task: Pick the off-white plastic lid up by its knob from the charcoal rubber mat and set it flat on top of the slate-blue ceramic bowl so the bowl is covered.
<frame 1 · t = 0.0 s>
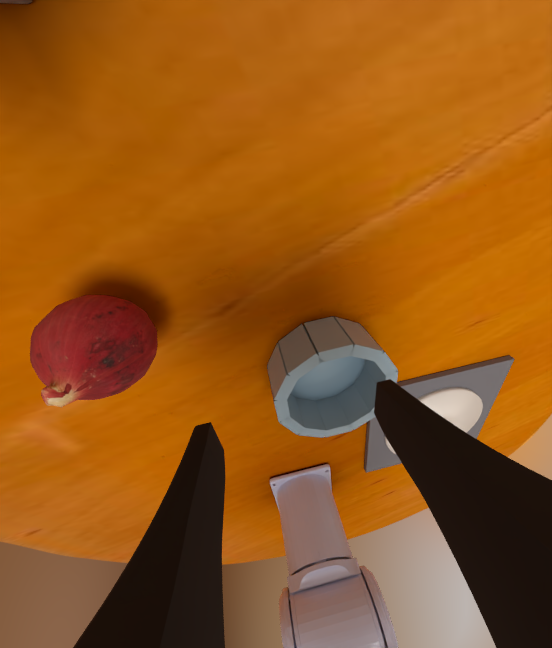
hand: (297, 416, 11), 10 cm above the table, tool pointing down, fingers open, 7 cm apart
lid: (430, 422, 30), point 1 cm above the table, touching mat
mat: (427, 418, 31), on the table
bowl: (321, 364, 23), on the table
onion: (125, 313, 18), on the table
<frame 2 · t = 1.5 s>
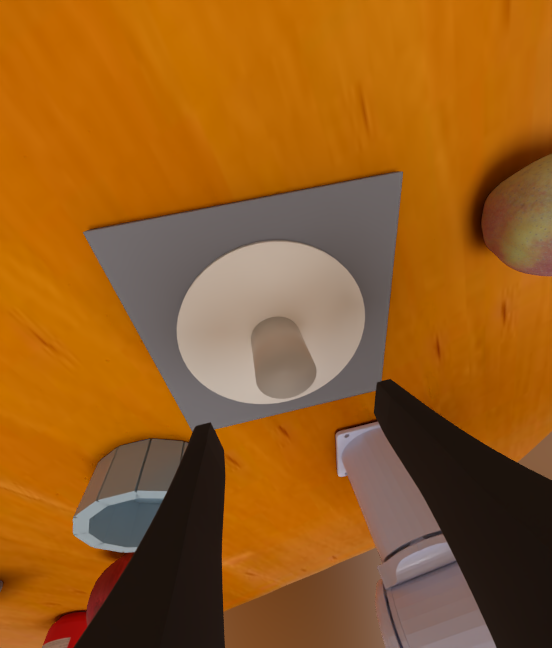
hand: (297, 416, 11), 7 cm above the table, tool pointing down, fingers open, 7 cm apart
apple: (495, 211, 15), on the table
lid: (274, 333, 16), point 1 cm above the table, touching mat
mat: (272, 328, 17), on the table
bowl: (159, 473, 23), on the table
onion: (131, 548, 30), on the table
beverage can: (78, 614, 38), on the table
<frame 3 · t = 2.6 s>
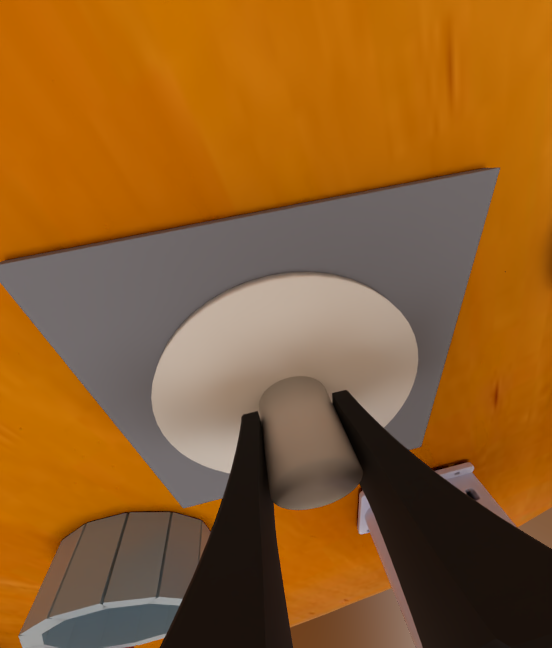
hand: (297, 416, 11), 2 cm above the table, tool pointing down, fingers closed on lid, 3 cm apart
lid: (290, 392, 12), point 1 cm above the table, touching gripper, mat
mat: (288, 383, 12), on the table
bowl: (141, 545, 19), on the table
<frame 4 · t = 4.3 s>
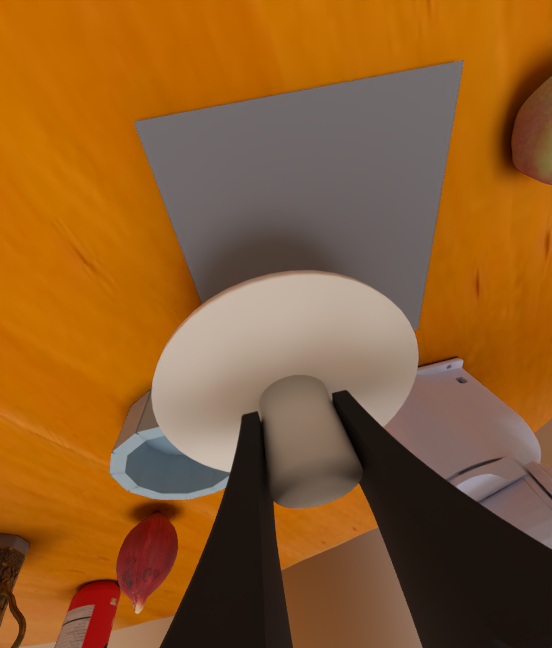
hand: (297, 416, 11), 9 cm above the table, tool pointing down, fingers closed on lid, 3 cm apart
ceramic cup: (9, 540, 28), on the table
apple: (524, 131, 15), on the table
lid: (290, 391, 12), point 8 cm above the table, touching gripper
mat: (314, 253, 16), on the table
bowl: (189, 422, 23), on the table
onion: (157, 510, 30), on the table
beverage can: (100, 585, 38), on the table
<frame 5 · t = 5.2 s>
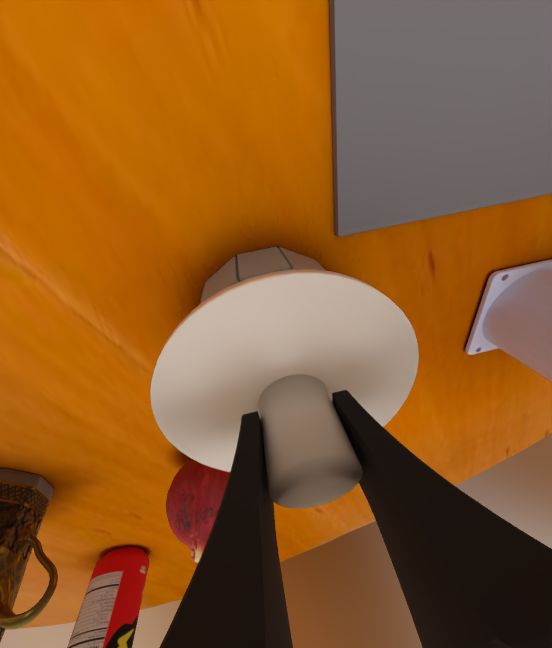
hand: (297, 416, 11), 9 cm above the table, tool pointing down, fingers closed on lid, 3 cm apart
ceramic cup: (29, 483, 23), on the table
lid: (290, 391, 12), point 7 cm above the table, touching gripper
mat: (493, 28, 12), on the table
bowl: (270, 318, 18), on the table
onion: (205, 453, 25), on the table
beverage can: (126, 552, 33), on the table
when the fingers open (7 cm above the table, at t = 5.8 s): lid drops 1 cm, resting on bowl.
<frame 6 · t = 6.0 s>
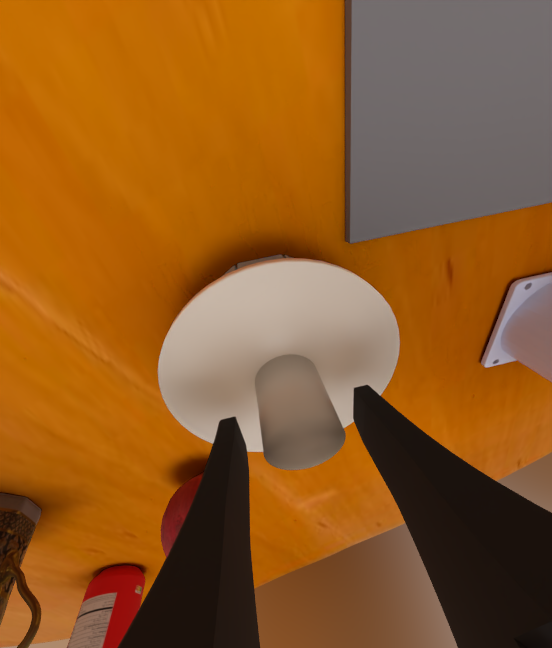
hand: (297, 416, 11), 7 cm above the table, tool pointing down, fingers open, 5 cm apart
ceramic cup: (15, 504, 22), on the table
lid: (284, 371, 13), point 4 cm above the table, touching bowl
mat: (530, 7, 10), on the table
onion: (204, 471, 24), on the table
beverage can: (121, 570, 32), on the table
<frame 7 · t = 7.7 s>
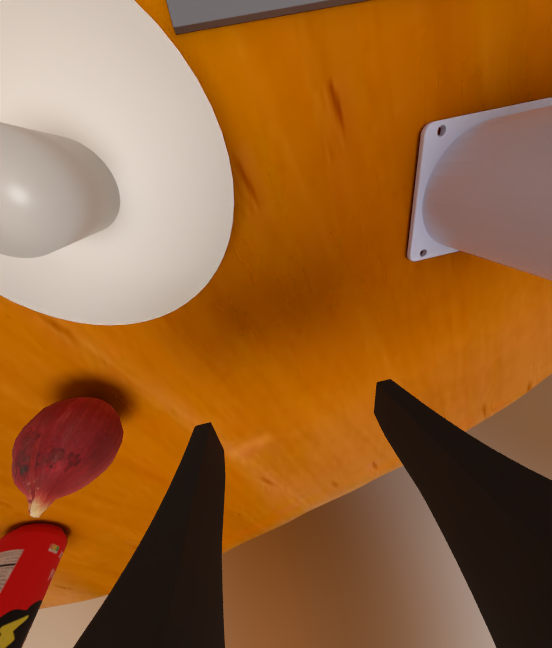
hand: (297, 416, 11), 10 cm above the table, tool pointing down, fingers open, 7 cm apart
lid: (80, 187, 10), point 4 cm above the table, touching bowl
onion: (98, 399, 20), on the table
beverage can: (40, 530, 29), on the table
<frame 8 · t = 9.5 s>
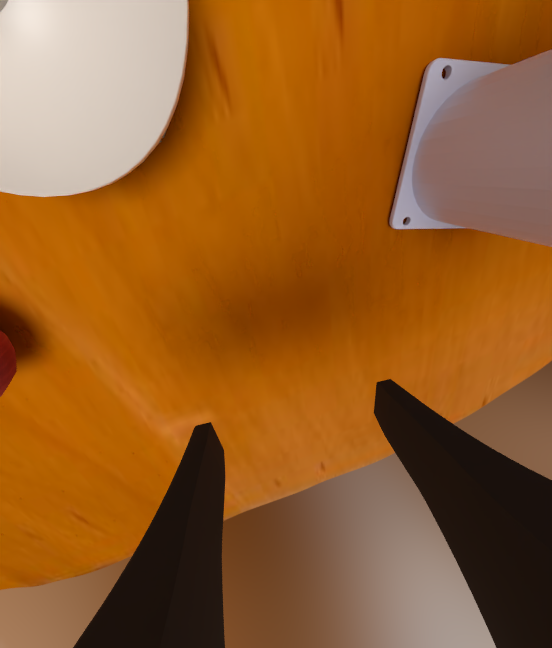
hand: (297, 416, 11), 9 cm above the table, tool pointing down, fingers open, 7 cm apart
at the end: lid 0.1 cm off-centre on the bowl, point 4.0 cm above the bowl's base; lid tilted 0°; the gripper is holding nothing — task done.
